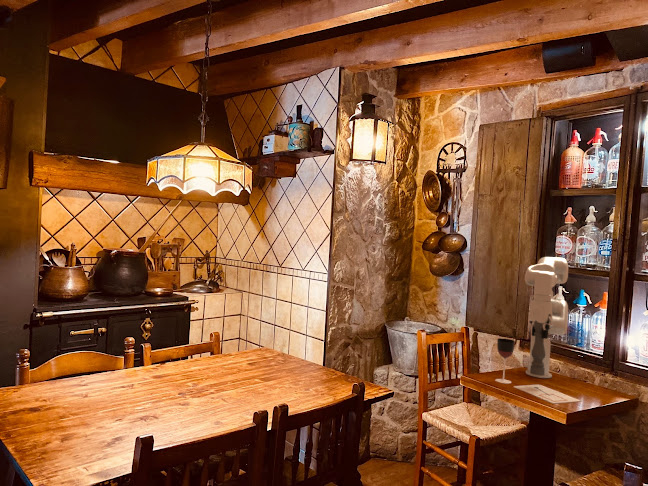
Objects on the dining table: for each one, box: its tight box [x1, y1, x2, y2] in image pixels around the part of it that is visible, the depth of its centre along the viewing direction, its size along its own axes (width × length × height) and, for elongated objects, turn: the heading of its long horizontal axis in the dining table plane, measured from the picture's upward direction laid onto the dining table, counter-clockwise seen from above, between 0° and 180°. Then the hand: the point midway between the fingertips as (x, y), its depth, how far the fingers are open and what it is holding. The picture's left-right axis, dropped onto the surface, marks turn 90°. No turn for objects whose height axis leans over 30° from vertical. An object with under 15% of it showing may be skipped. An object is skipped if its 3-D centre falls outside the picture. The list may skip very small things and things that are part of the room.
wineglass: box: [495, 338, 516, 384], centre depth 249 cm, size 8×9×20 cm
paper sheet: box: [513, 384, 582, 404], centre depth 232 cm, size 24×16×1 cm, turn 22°
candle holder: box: [530, 321, 547, 376], centre depth 239 cm, size 6×6×25 cm
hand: (539, 336), depth 239 cm, fingers closed on candle holder, 5 cm apart
